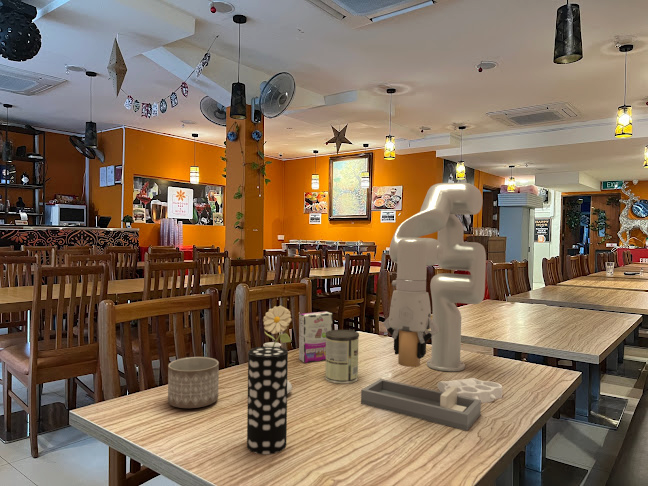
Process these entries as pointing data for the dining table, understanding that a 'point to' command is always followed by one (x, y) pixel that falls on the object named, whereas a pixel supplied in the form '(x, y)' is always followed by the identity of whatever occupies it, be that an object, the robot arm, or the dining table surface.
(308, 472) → the dining table surface
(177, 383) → the planter
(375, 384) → the grey rectangular tray
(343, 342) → the coffee can
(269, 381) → the white-spotted black cylinder
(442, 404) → the plate
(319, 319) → the candy bar box
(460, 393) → the knuckle duster
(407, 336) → the jar
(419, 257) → the robot arm
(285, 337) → the flower in vase
